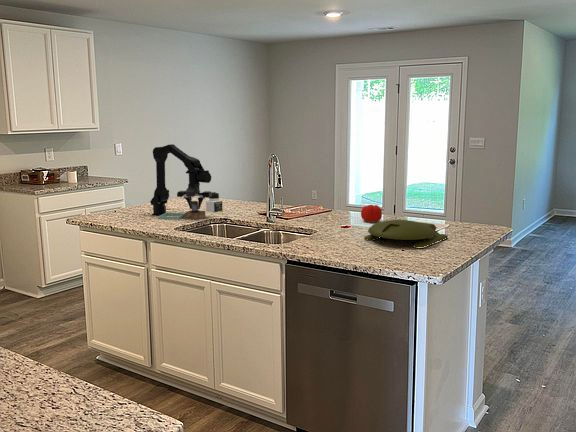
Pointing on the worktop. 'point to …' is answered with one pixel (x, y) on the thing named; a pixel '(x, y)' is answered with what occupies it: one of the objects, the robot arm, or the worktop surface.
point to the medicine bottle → (214, 203)
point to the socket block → (194, 215)
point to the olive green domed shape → (405, 231)
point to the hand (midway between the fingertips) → (195, 209)
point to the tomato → (371, 213)
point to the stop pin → (194, 206)
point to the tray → (165, 215)
